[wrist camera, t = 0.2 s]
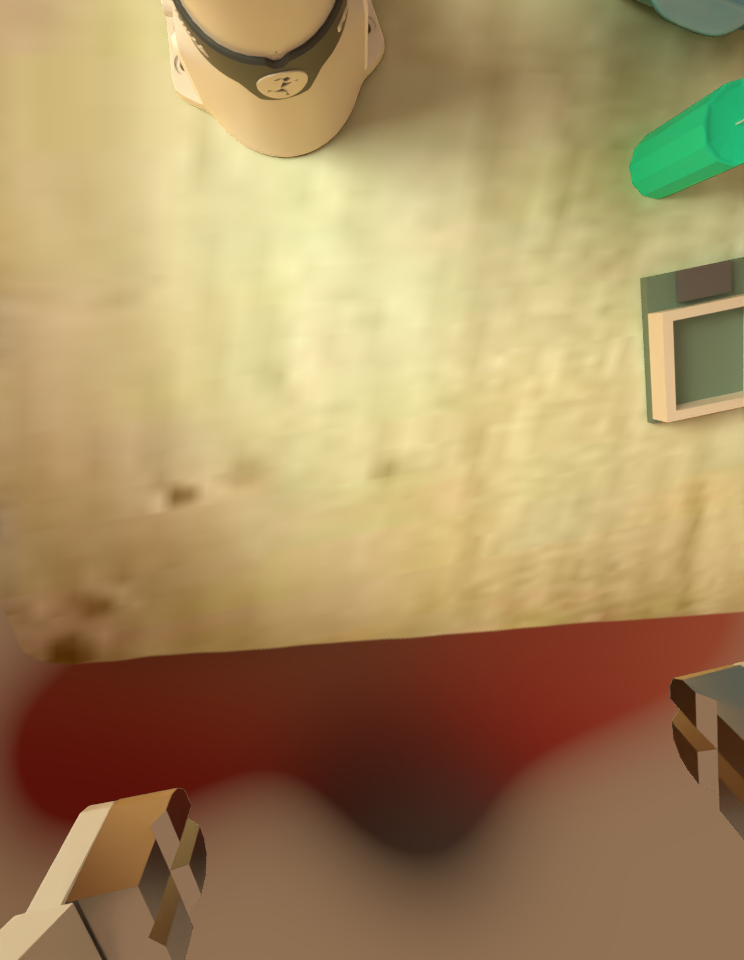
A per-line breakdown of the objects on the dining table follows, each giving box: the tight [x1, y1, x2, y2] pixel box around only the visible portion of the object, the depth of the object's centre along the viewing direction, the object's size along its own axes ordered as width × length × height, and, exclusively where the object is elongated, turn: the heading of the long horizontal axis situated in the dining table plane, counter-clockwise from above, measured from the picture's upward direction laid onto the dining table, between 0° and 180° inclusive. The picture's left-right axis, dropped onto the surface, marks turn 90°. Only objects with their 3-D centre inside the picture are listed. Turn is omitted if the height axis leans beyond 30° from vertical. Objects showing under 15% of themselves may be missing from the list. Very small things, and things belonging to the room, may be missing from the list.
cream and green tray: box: [640, 257, 744, 423], centre depth 53 cm, size 15×11×4 cm
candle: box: [630, 79, 744, 199], centre depth 44 cm, size 6×6×12 cm
